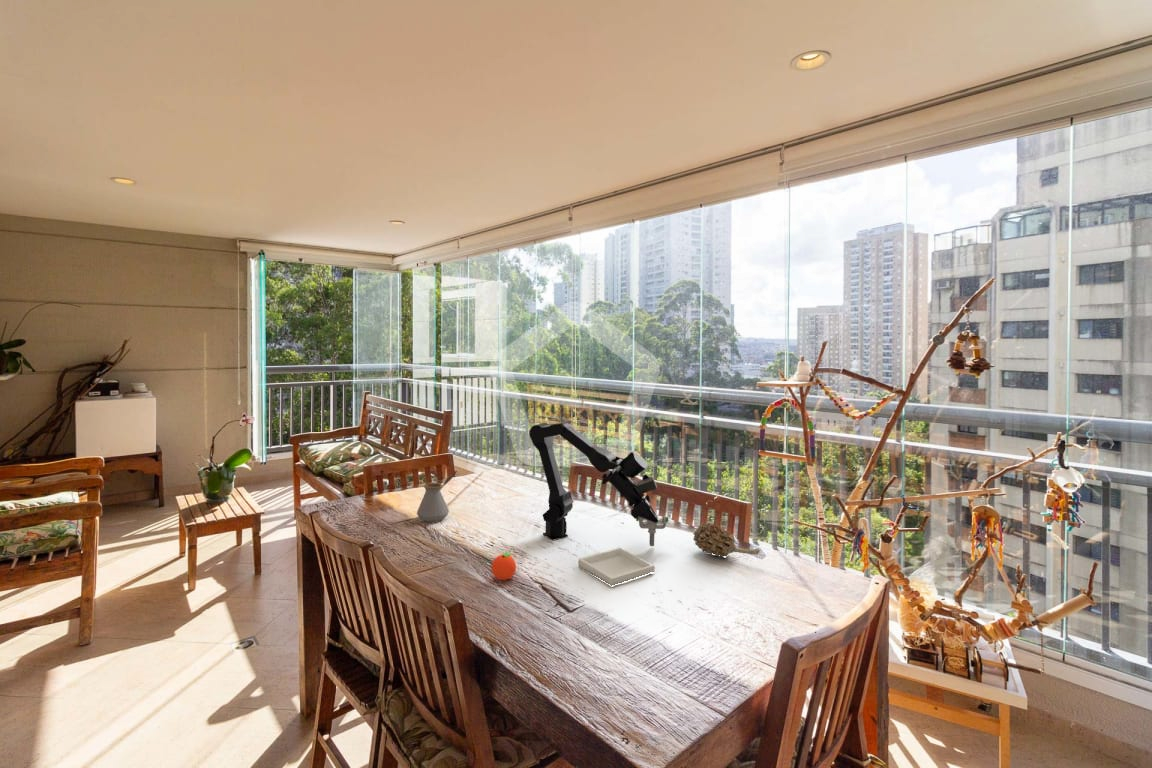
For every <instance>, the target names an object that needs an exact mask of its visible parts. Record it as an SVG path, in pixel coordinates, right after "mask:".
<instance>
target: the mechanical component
mask: <svg viewBox="0 0 1152 768" xmlns="http://www.w3.org/2000/svg"><path fill="white" fill-rule="evenodd" d="M656 515H657V514H656ZM656 515H655V516H656ZM657 517H658V515H657V516H656V518H657ZM657 519H658V522H657V523H654V522H652V521H650V520H647V519H645V518H642V517H640V516H639V517H638V518H636V519H635V520H636V522H638V525H639V528H641V529H648V530H647V533H648V534H649V542H648V543H649V547H655V534H656V533H657V530H664V529H665V528H666V527H667V523H668V522H669V517H668V516H667V515H663V518H661V519H659V517H658V518H657ZM644 520H646V521H644Z"/></svg>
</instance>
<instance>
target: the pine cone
mask: <svg viewBox="0 0 1152 768" xmlns="http://www.w3.org/2000/svg"><path fill="white" fill-rule="evenodd" d="M693 535H694V536H693V541H694V543H695V544H694V545H695V546H697V547H698V549H700V550H702V552H703V551H705V552H704V553H705V554H707V553H710V554H711V553H713V554H715V555H714V556H715V557H716V556H719V555H721V556H719V557H722V556H727V555H728V556H729V554H732V553H740V554H746V555H747V554H748V555H757V556H758V555H759V554H760V552H761V550H760V548H759V547H757V548H755V549H744V548H739V547H737V546H736V544H735V536H734V535H733V534H732V533H730V531H729V530H725V528H724V527H721V526H720V525H719V524H715V523H710V522H708V523H705V522H704V523H702V524H699V525H698V527H696V530H695V531H694V532H693ZM728 556H727V557H728Z"/></svg>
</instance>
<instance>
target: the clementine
mask: <svg viewBox="0 0 1152 768" xmlns="http://www.w3.org/2000/svg"><path fill="white" fill-rule="evenodd" d="M512 556H513V557H514V558H513V557H512ZM515 559H516V556H515V555H514V554H512V553H504V554H499V555H498V556H496V557H495V558H494V559H493V561H492V564H491V571H492V575H493V576H494V577H495V578H496V579H498V580H500V581H506V580H509V579H511V578H512V577H513V576H514V575H515V572H516V569H517V565H516V563H517V562H516V560H515Z"/></svg>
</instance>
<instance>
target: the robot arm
mask: <svg viewBox="0 0 1152 768" xmlns="http://www.w3.org/2000/svg"><path fill="white" fill-rule="evenodd" d="M528 434H529V438H530V440H531V443H532V444H533V446H534V447H535V448H536V449H537V451H538V453H539V458H540V459H541V461H540V462H541V464H542V468H543V471H544V475H545V479H546V483H547V487H548V491H549V492H548V493H549V495H548V501H547V502H548V509H547V510H546V511H545V512H544V513H543V514H542V518H543V521H544V522H545V532H543V533H542V535H543V536H545V537H546V536H547V537H546V538H548V539H550V540H551V539H552V540H551V541H554V539H556V540H559V538H560V539H563V537H564V538H567V537H569V535H568V534H567V521H566V517H568V514H569V512H571V510H572V509H573V505H574V504H573V503H574V502H575V501H574V499H573V498H572V492H571V491H570V490H569V491H568V490H567V491H566V489H565V488H564V486H563V481H562V479H561V474H560V471H559V467H558V464H557V459H556V455H555V452H554V447H553V446H554V437H555V436H560V437H562V438H563V439H564V440H565V441H567V442H568V443H569V444H571V445H572V446H573V447H574V448H576V449H577V450H578V451H580V452H581V454H583V455H585V457H586V458H587V459H588V461H589V463H590V464H591V465H592V466H593V468H594V469H595V470H597V471H598V472H599V473H603V474H602V476H601V478H602V482H601V484H602V485H605V484H607V483H610V485H611V486H612V487H613V488H614V489H615V491H617V492H618V493H619V496H620V497H621V498H623V499H624V500H626V502H627V504H628V506H629V507H630V515H631V516H632V518H633V519H634V520H636V518H638V517H639V516H640V517H642V518H645V519H647V520H650V521H652V522H654V523H657V522H658V520H659V517H658V515H657V513H656V512H655V509H654V508H653V507H652V505H651V501H650V495H649V494H647V493H648V492H651V491H655V490H657V488H658V487H657V486H658V485H657V483H656V480H655V478H654V476H652V475H651V476H650V475H649V474H647V473H645V474H643V475H642V480H641V479H640V481H638V482H637V481H636V480H635V479H634V478H636V477H637V476H638V475H639V474H641V473H642V472H643V471H645V470H646V469H647V468H648V464H647V461H646V460H645V459H644V457H642V456H641V455H640V454H638V453H637V452H635V451H634V450H633V451H631V452H630V453H629V454H627V456H626V457H625V458H623V457H619V456H617V455H615V453H613V452H612V451H610V450H608V449H606V448H604V447H601V446H597V445H596V444H594V443H593V442H592V441H591V440H590V439H588V438H587V437H585V436H584V435H583V434H581V432H579V431H578V430H577V429H575V428H573V426H571V425H570V424H569V422H567V421H563V422H558V423H552V424H550V423H548V422H542V423H541V422H540V423H537V424H534V425H532V426H531V427H530V429H529V432H528ZM610 470H611V471H610ZM608 471H609V472H608ZM607 472H608V473H607ZM645 494H647V495H646V496H645ZM655 515H656V516H657V518H658V519H657V518H656V516H655ZM647 520H646V521H647Z"/></svg>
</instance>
